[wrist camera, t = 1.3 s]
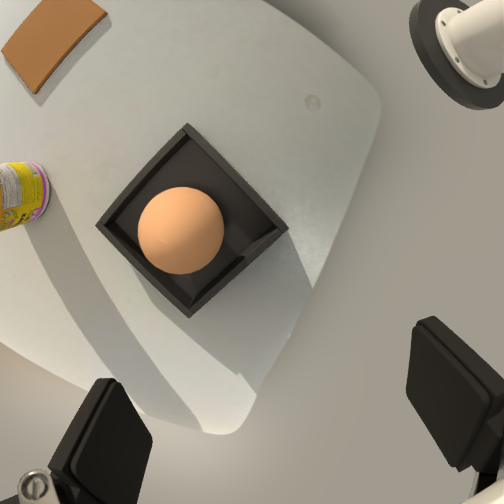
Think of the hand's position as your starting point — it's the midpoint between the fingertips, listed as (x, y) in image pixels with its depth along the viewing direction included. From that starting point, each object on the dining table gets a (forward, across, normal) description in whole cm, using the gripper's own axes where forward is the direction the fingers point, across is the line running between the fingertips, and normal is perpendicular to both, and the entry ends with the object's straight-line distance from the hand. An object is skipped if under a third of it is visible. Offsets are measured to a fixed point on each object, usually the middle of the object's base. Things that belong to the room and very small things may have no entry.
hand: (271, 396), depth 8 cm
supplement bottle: (+21, +23, -11) cm, 33 cm away
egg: (+21, +5, -3) cm, 22 cm away
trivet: (+21, +18, -30) cm, 41 cm away
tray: (+21, +5, -3) cm, 22 cm away
